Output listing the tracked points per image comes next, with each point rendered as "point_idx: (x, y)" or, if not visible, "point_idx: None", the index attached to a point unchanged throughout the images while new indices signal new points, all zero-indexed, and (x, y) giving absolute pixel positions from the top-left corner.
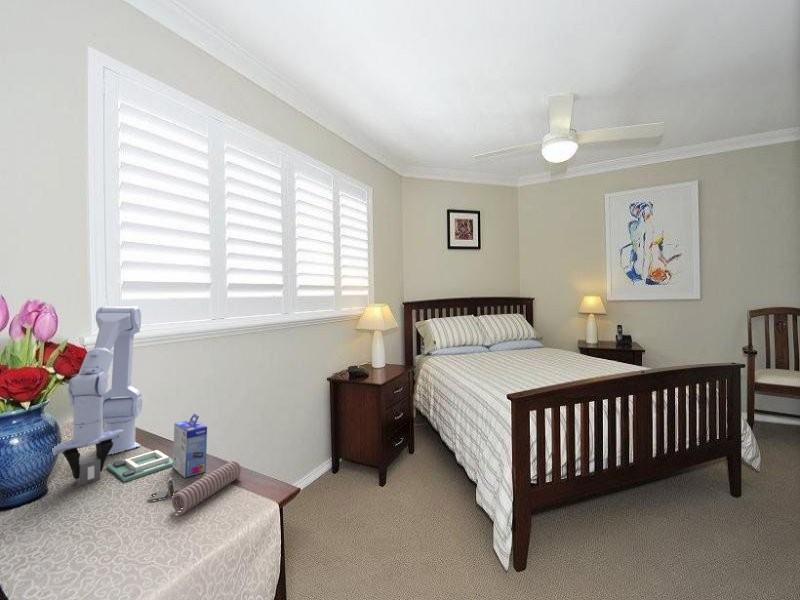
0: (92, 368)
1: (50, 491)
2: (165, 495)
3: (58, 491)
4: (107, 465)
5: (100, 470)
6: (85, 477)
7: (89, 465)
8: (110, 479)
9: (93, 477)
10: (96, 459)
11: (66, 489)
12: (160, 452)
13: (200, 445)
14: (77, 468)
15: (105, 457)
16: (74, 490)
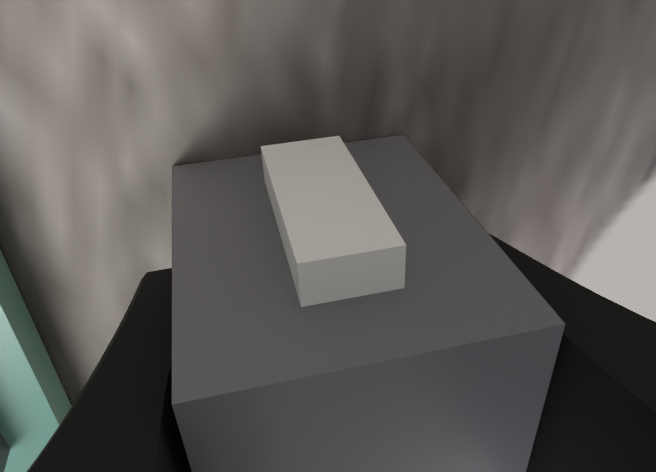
0: None
1: (620, 197)
2: None
3: (589, 137)
4: None
5: (166, 280)
6: (374, 181)
7: (376, 312)
8: (31, 28)
9: (272, 146)
10: (247, 448)
11: (527, 130)
12: None
13: None
14: (554, 300)
15: (53, 454)
16: (492, 13)
